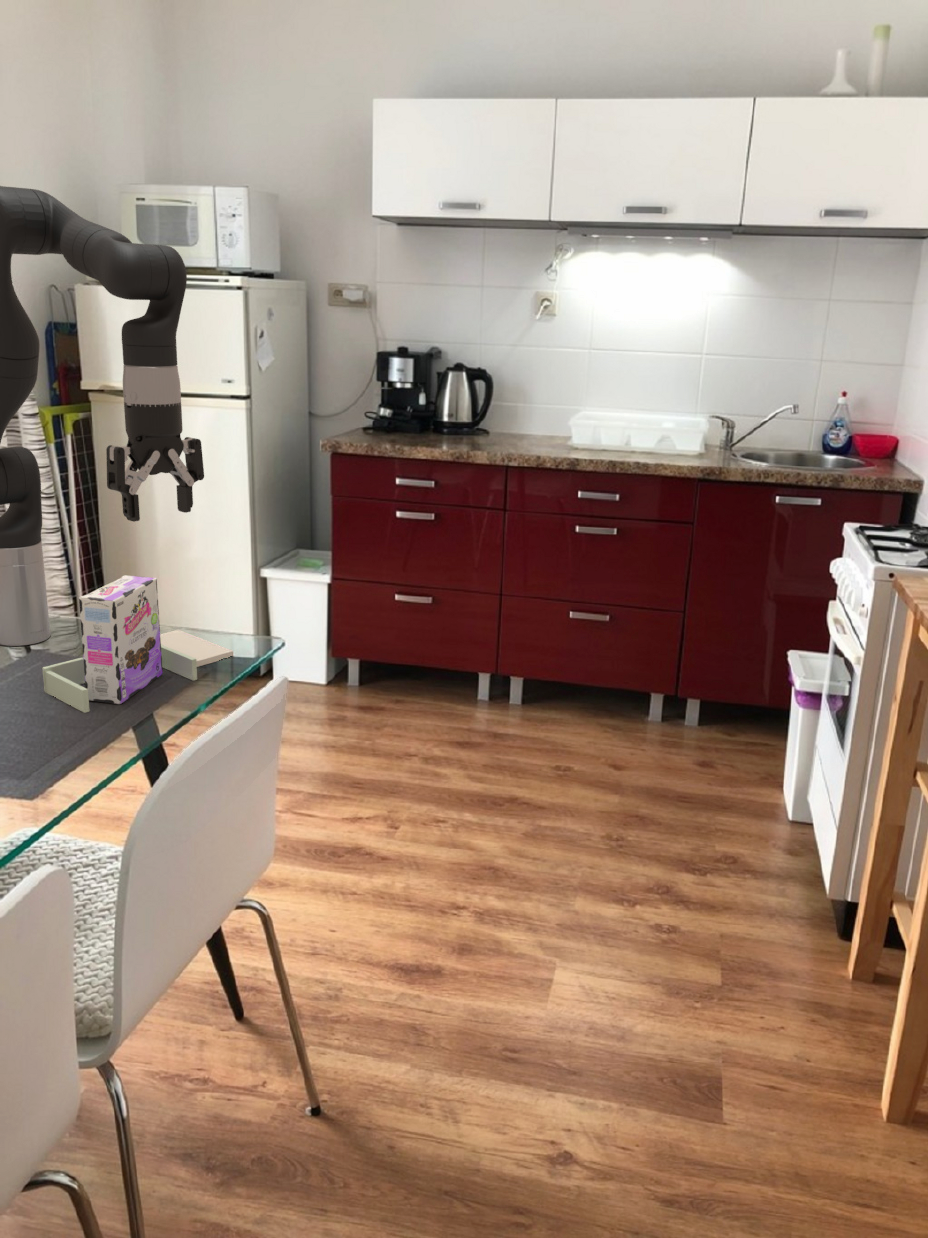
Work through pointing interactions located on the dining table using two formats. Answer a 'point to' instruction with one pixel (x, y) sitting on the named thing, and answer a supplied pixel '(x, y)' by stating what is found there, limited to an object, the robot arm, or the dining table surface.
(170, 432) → the robot arm
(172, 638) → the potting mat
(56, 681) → the green u-shaped frame
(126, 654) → the candy box
